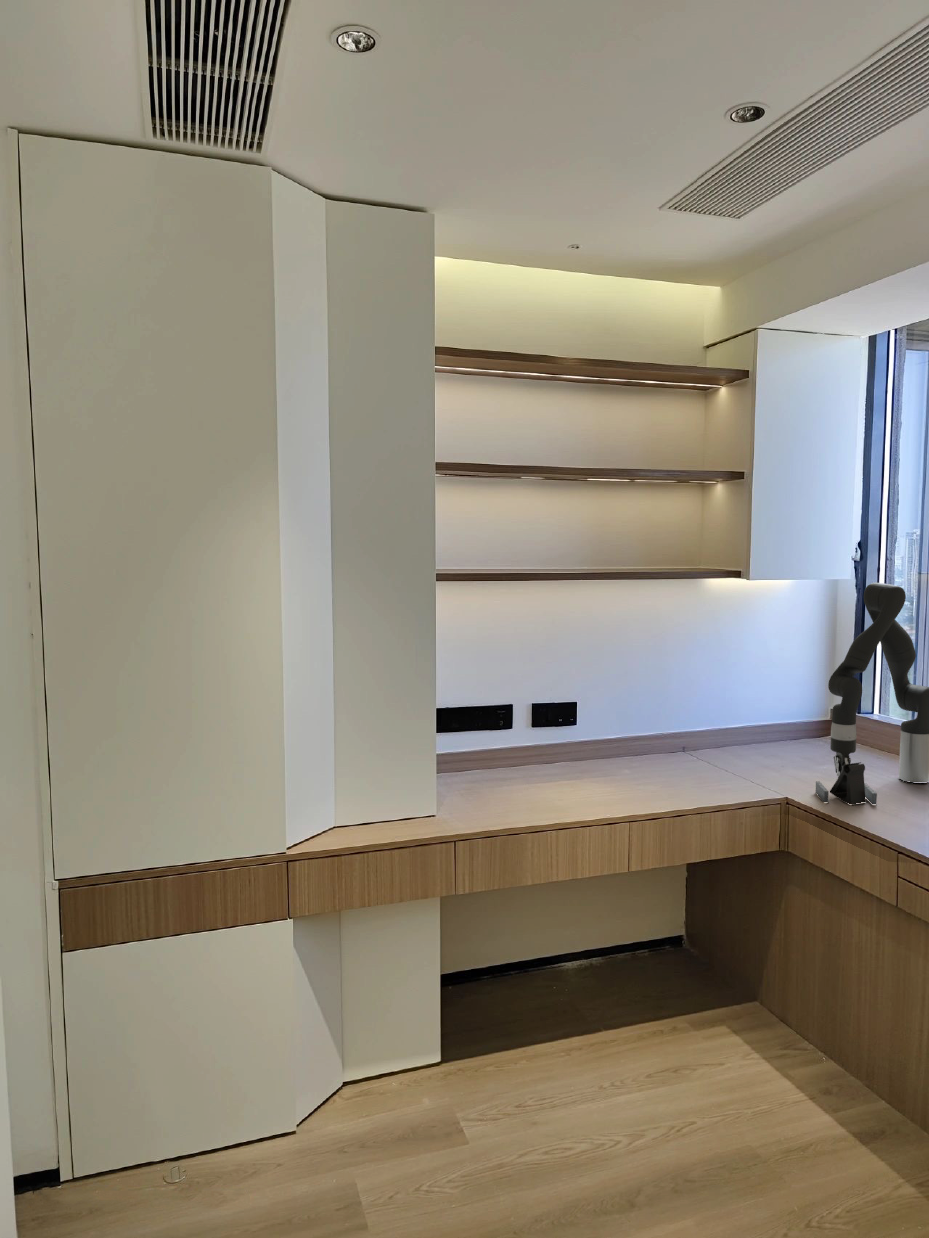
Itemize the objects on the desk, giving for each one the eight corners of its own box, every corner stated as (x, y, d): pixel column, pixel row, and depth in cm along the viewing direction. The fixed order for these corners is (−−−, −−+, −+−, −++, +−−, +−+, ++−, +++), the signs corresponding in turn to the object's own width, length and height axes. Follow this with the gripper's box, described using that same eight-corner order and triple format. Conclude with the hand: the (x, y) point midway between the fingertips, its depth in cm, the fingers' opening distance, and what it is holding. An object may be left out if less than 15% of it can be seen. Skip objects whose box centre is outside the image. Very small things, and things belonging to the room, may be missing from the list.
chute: (815, 793, 270) (815, 781, 270) (865, 795, 267) (866, 783, 267) (824, 803, 259) (824, 791, 259) (876, 805, 257) (876, 793, 256)
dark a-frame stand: (865, 803, 259) (873, 769, 255) (850, 806, 257) (858, 771, 253) (843, 790, 267) (851, 756, 263) (829, 792, 265) (836, 758, 261)
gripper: (861, 742, 258) (860, 795, 260) (850, 731, 271) (848, 782, 273) (836, 741, 260) (834, 794, 262) (825, 731, 273) (824, 782, 275)
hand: (841, 788), depth 267 cm, fingers closed
